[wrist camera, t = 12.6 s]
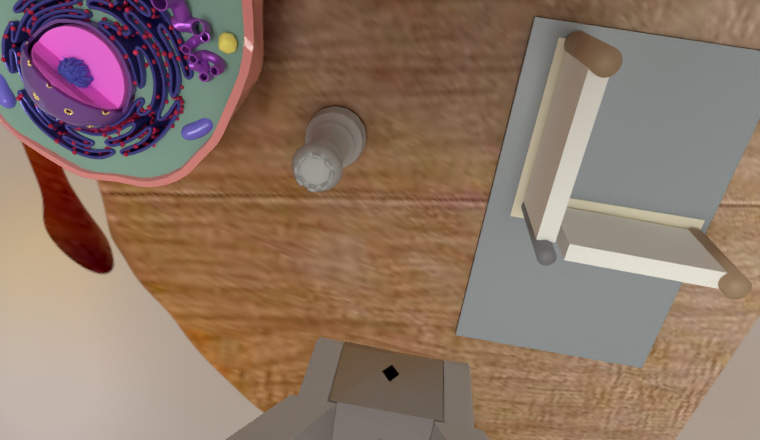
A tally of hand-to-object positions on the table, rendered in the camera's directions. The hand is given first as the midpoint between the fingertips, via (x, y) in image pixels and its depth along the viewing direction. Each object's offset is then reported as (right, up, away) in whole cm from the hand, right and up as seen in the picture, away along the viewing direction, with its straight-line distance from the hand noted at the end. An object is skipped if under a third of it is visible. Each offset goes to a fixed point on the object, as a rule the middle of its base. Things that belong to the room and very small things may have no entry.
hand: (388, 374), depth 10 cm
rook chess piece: (-3, +10, +29) cm, 30 cm away
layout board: (+16, +3, +29) cm, 33 cm away
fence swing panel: (+18, +3, +28) cm, 34 cm away
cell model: (-15, +17, +26) cm, 35 cm away
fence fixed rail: (+12, +10, +26) cm, 31 cm away
